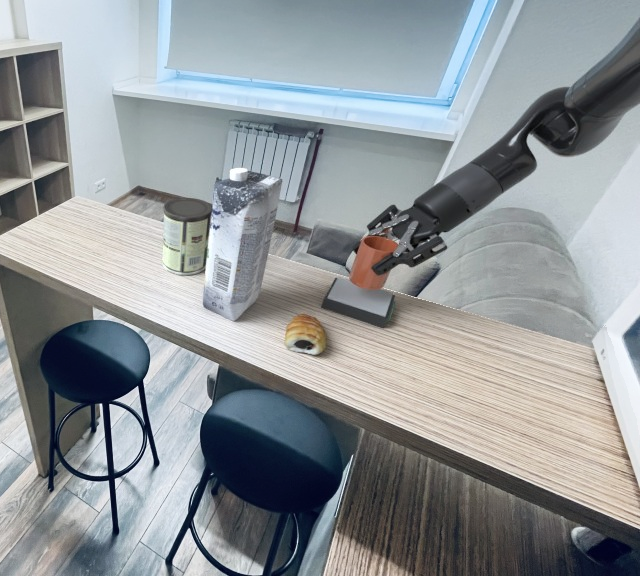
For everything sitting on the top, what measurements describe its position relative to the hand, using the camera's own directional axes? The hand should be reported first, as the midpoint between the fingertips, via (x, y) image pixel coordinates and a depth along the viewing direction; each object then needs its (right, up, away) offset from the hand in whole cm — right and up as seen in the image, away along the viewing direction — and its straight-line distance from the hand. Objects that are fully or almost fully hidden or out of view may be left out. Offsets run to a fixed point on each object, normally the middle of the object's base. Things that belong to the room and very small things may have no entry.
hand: (364, 261), depth 74 cm
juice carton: (-23, -8, +7) cm, 25 cm away
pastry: (-12, -14, -2) cm, 19 cm away
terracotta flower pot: (+2, -3, +3) cm, 5 cm away
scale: (+2, -8, +6) cm, 10 cm away
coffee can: (-30, +1, +20) cm, 36 cm away
